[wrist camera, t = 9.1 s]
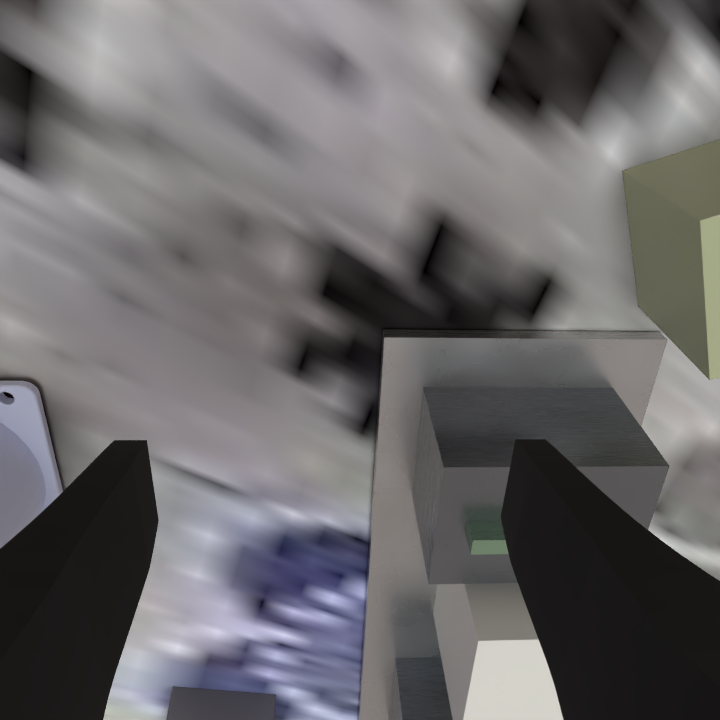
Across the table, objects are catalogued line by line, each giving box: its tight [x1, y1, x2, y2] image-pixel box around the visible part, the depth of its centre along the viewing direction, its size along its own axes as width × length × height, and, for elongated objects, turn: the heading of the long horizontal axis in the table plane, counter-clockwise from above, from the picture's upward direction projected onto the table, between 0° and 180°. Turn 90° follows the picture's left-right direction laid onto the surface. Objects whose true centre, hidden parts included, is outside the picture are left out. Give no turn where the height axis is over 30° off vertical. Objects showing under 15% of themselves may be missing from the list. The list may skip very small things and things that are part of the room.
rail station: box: [358, 329, 669, 720], centre depth 27 cm, size 10×24×6 cm, turn 178°
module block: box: [433, 583, 563, 720], centre depth 26 cm, size 4×6×6 cm, turn 178°
